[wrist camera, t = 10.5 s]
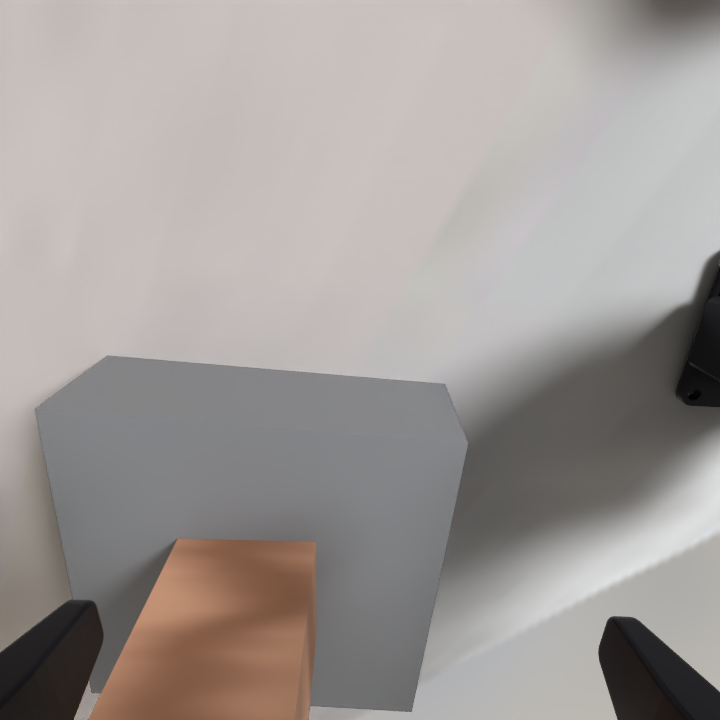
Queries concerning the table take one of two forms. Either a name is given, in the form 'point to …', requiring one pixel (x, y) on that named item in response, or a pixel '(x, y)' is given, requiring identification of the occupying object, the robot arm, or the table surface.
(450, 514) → the gray block
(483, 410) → the table surface
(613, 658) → the robot arm
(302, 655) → the terracotta cube
